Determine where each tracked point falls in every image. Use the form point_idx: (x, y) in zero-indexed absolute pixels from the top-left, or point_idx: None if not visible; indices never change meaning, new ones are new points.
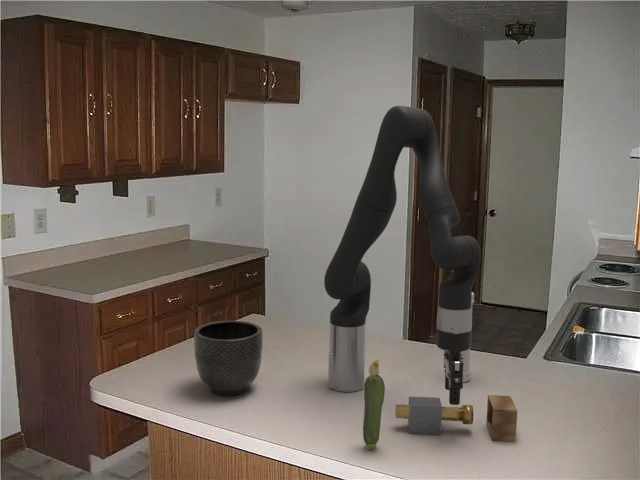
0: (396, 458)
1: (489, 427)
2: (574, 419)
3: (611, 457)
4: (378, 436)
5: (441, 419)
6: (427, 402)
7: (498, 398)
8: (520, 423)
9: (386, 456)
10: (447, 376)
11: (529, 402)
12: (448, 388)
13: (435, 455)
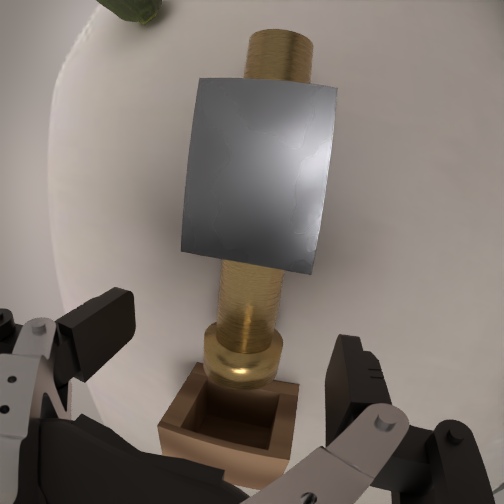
0: (101, 80)
1: None
2: None
3: None
4: (121, 17)
5: None
6: (242, 182)
7: (253, 470)
8: (296, 445)
9: (112, 56)
10: (17, 354)
11: None
12: (334, 351)
13: (108, 181)
